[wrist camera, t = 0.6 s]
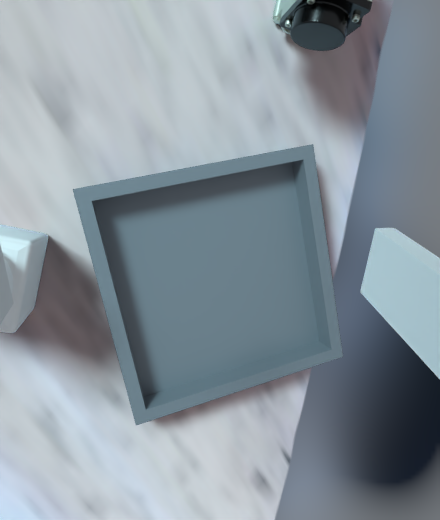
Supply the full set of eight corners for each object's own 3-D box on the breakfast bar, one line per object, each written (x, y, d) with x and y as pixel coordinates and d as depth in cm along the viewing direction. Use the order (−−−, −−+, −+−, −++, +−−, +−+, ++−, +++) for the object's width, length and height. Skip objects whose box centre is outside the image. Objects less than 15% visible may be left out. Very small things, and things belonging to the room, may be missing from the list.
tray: (77, 190, 35) (72, 189, 31) (296, 149, 39) (313, 144, 36) (134, 406, 39) (136, 425, 36) (325, 345, 44) (343, 356, 40)
